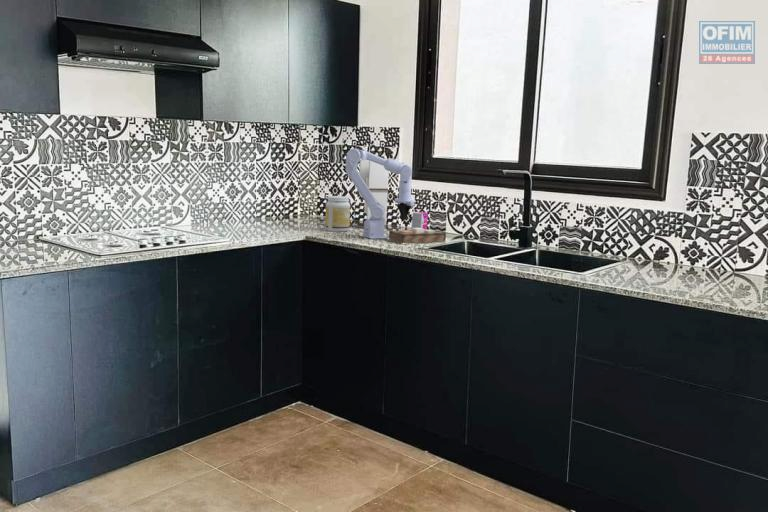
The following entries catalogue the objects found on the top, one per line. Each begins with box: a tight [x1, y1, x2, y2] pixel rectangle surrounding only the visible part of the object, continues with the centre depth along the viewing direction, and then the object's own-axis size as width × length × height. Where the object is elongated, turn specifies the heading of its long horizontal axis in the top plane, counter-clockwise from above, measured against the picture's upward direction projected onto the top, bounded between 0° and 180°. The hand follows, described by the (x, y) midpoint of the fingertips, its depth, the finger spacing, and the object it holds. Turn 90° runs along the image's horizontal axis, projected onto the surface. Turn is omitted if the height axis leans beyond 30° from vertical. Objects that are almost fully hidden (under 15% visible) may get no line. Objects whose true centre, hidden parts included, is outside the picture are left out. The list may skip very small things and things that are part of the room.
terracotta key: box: [399, 229, 413, 233], centre depth 320 cm, size 4×4×4 cm
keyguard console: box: [388, 229, 447, 244], centre depth 324 cm, size 24×12×4 cm, turn 122°
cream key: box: [410, 227, 424, 233], centre depth 324 cm, size 4×4×4 cm
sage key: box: [424, 229, 436, 233], centre depth 327 cm, size 4×4×4 cm
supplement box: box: [411, 211, 429, 230], centre depth 343 cm, size 6×6×12 cm
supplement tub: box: [324, 195, 351, 233], centre depth 344 cm, size 12×12×17 cm
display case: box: [356, 159, 390, 230], centre depth 358 cm, size 11×11×35 cm
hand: (403, 219), depth 327 cm, fingers closed
